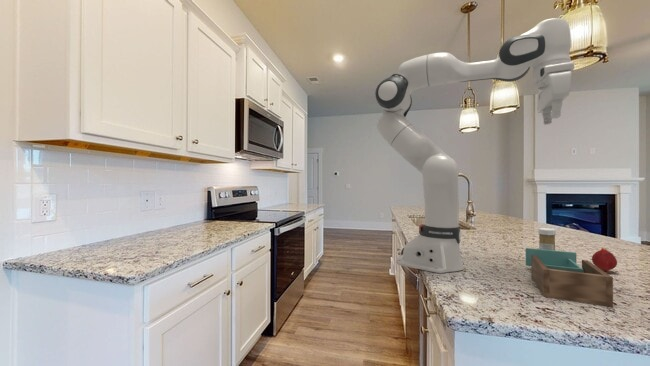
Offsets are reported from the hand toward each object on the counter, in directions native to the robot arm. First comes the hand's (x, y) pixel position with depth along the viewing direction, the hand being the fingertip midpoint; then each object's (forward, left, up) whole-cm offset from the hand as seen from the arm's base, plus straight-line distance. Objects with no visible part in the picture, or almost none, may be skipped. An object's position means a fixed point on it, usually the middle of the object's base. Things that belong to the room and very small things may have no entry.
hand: (551, 121), depth 82 cm
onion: (+17, +18, -48) cm, 54 cm away
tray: (+2, +4, -47) cm, 47 cm away
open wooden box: (+2, -8, -48) cm, 49 cm away
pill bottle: (+2, +15, -48) cm, 50 cm away
